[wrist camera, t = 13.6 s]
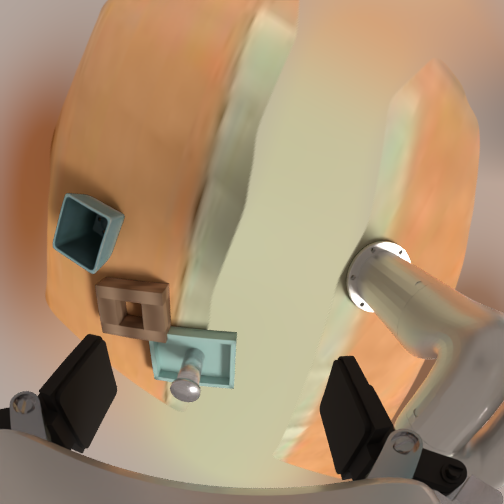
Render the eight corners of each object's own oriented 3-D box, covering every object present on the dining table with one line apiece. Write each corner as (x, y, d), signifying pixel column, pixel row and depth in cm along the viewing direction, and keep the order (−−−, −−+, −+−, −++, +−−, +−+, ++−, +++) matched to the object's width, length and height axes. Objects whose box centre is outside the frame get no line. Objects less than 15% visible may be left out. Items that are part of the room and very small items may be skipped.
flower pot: (81, 235, 41) (50, 247, 32) (96, 188, 39) (65, 191, 30) (120, 258, 42) (94, 275, 33) (138, 210, 40) (112, 218, 31)
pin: (207, 346, 46) (199, 383, 36) (207, 366, 47) (200, 403, 37) (181, 344, 45) (168, 379, 36) (183, 364, 47) (171, 399, 37)
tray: (236, 332, 45) (236, 340, 43) (234, 379, 48) (233, 388, 46) (152, 323, 45) (147, 331, 42) (158, 370, 48) (154, 379, 45)
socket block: (169, 283, 43) (162, 293, 39) (171, 330, 45) (165, 343, 42) (105, 277, 43) (95, 285, 39) (111, 322, 45) (102, 332, 41)
